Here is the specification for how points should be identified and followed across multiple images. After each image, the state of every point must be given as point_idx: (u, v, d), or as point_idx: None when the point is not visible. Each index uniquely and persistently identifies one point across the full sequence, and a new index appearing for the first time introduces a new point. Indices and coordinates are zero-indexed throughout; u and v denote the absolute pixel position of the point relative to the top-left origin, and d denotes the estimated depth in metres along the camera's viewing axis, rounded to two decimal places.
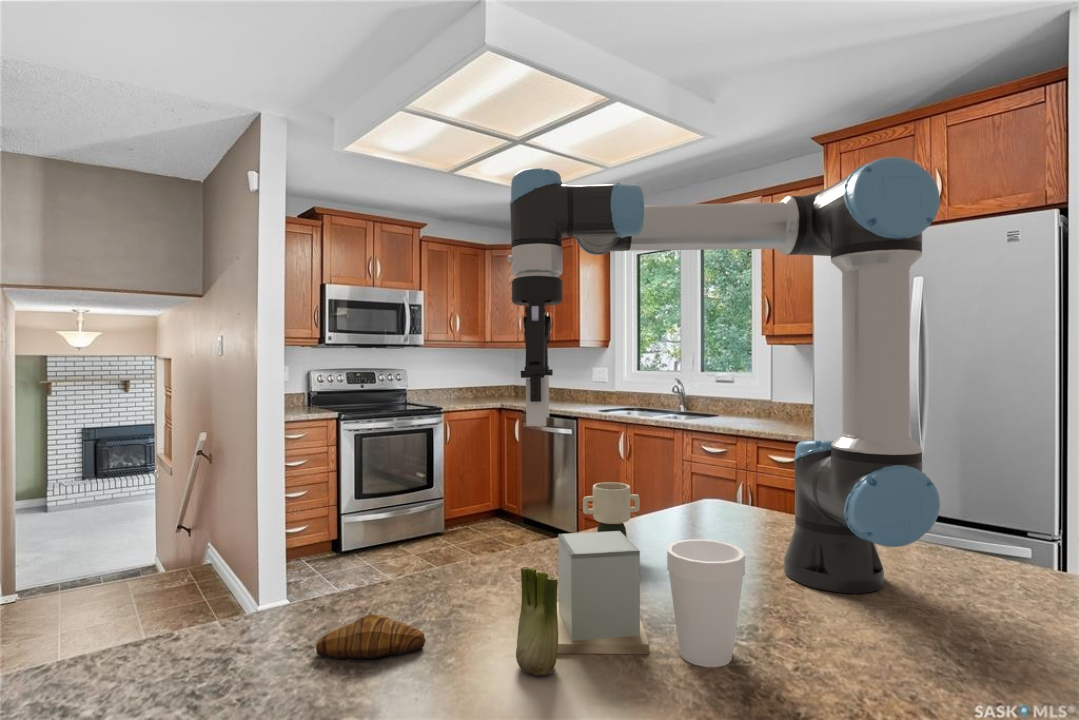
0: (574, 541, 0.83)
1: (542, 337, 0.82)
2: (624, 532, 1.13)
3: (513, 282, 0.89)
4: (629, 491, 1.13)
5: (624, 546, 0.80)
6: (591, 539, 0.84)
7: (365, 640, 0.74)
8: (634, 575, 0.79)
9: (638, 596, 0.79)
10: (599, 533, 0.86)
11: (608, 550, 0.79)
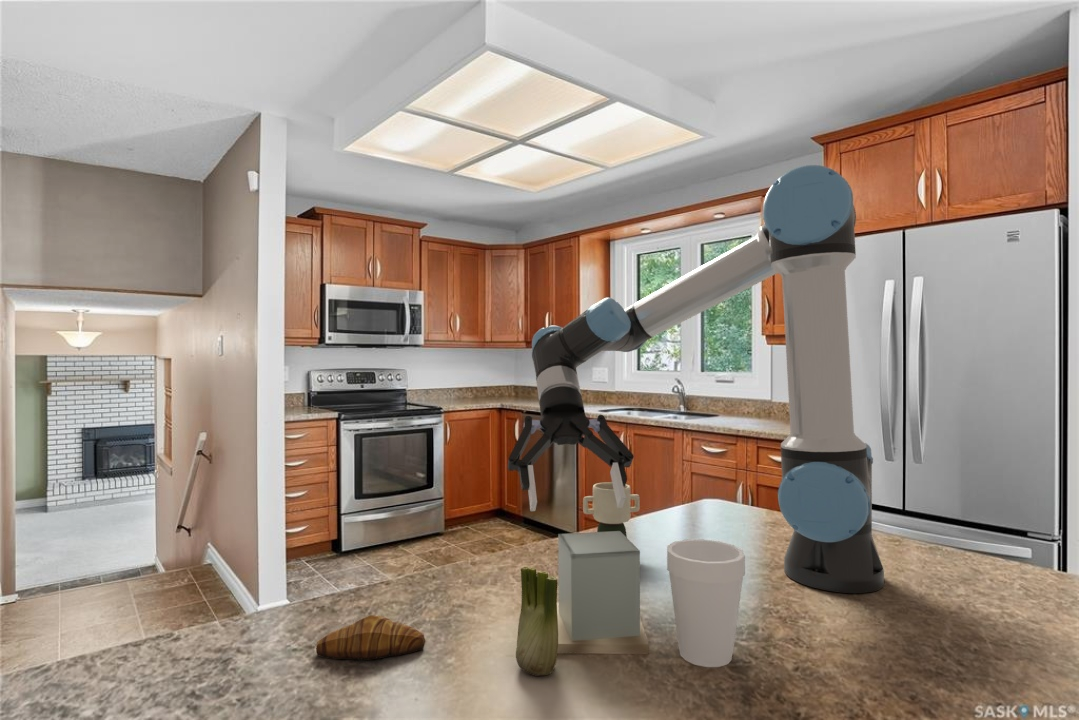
0: (574, 541, 0.83)
1: (519, 437, 0.99)
2: (624, 532, 1.13)
3: None
4: (629, 491, 1.13)
5: (624, 546, 0.80)
6: (591, 539, 0.84)
7: (365, 641, 0.74)
8: (634, 575, 0.79)
9: (638, 596, 0.79)
10: (599, 533, 0.86)
11: (608, 550, 0.79)
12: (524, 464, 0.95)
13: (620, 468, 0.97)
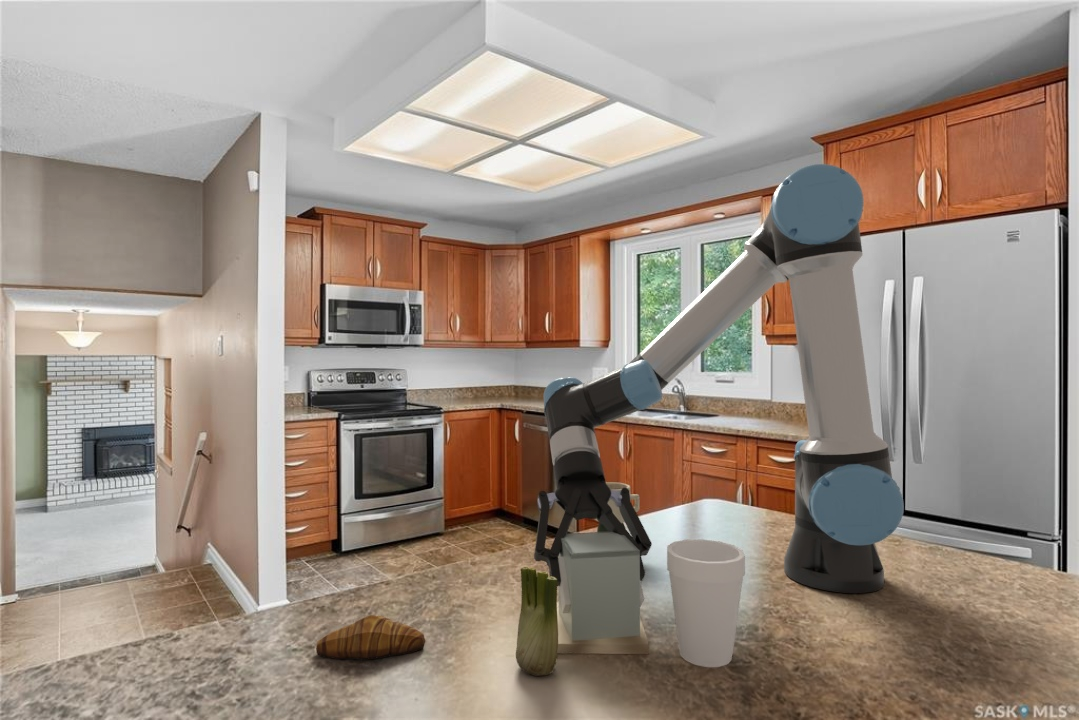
0: (574, 541, 0.83)
1: (539, 520, 0.86)
2: None
3: None
4: (629, 491, 1.13)
5: (624, 546, 0.80)
6: (591, 539, 0.84)
7: (365, 641, 0.74)
8: (634, 575, 0.79)
9: (638, 596, 0.79)
10: (599, 533, 0.86)
11: (608, 550, 0.79)
12: (555, 555, 0.82)
13: None
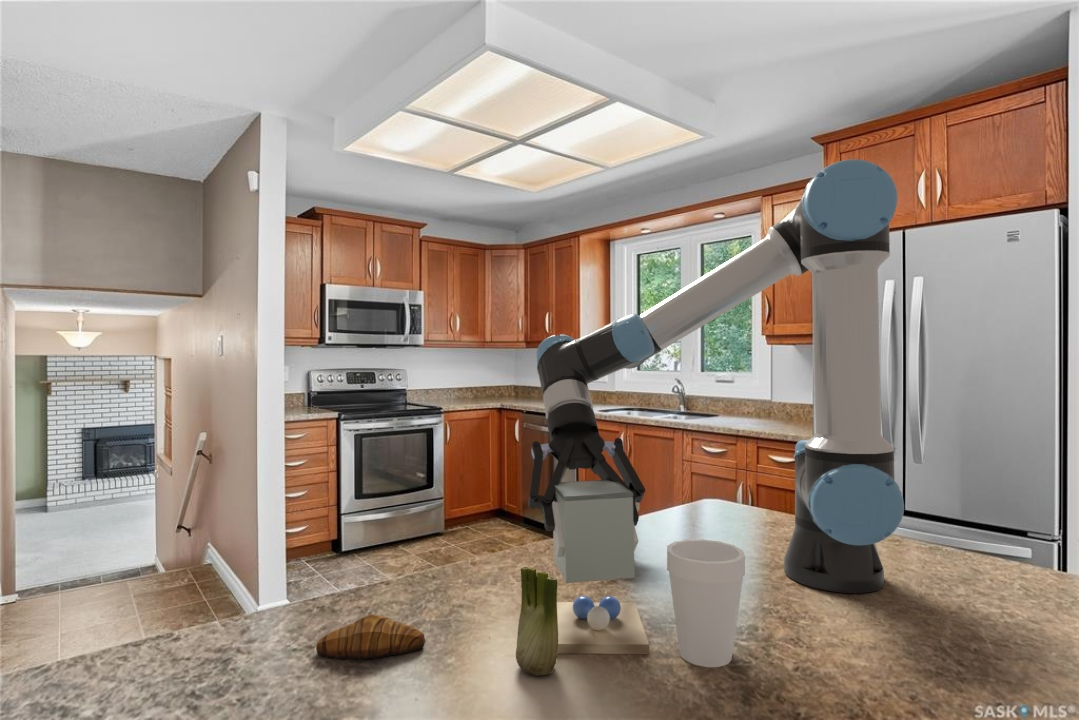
0: (568, 487, 0.83)
1: (533, 468, 0.86)
2: None
3: None
4: None
5: (617, 490, 0.81)
6: (585, 485, 0.84)
7: (365, 641, 0.74)
8: (627, 517, 0.79)
9: (632, 538, 0.79)
10: (593, 481, 0.87)
11: (601, 493, 0.79)
12: (549, 501, 0.82)
13: None
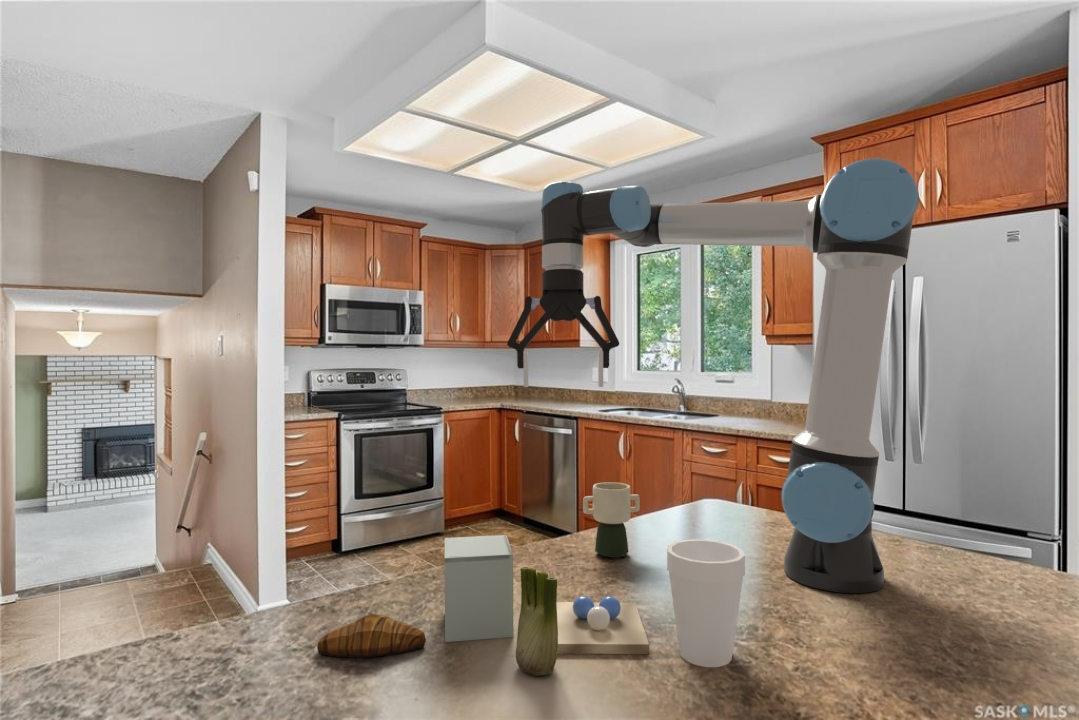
0: (455, 545, 0.85)
1: (518, 320, 1.10)
2: (624, 532, 1.13)
3: None
4: (629, 491, 1.13)
5: (500, 550, 0.83)
6: (473, 543, 0.86)
7: (365, 639, 0.75)
8: (507, 578, 0.81)
9: (511, 598, 0.81)
10: (484, 537, 0.89)
11: (482, 554, 0.81)
12: (520, 349, 1.10)
13: (605, 354, 1.11)
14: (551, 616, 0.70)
